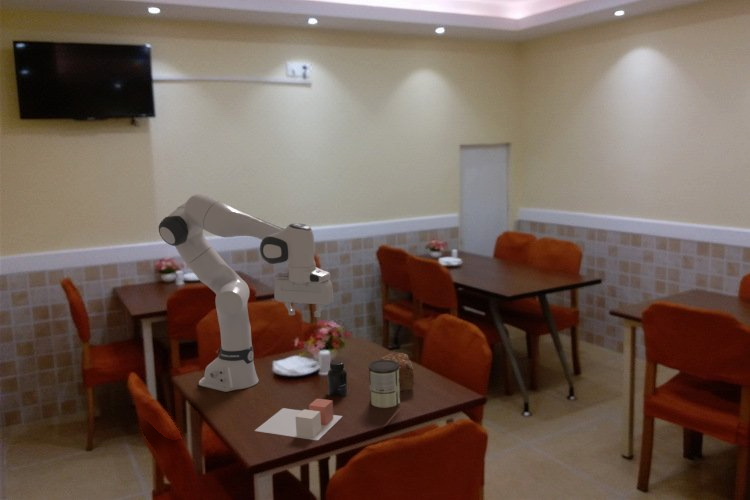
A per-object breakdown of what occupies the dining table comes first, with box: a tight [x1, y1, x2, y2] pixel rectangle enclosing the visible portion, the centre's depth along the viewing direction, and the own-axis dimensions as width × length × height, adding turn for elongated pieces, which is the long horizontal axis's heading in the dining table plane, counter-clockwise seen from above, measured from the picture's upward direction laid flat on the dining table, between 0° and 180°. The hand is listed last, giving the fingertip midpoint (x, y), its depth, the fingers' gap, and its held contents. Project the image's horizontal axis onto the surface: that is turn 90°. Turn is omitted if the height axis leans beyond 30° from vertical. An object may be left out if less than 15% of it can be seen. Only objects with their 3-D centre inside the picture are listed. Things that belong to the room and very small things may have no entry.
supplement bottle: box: [327, 360, 348, 398], centre depth 230 cm, size 7×7×12 cm
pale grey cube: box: [296, 408, 321, 438], centre depth 200 cm, size 6×6×6 cm
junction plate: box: [254, 407, 343, 441], centre depth 207 cm, size 22×18×1 cm
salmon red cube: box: [308, 398, 334, 425], centre depth 208 cm, size 6×6×6 cm
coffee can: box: [368, 359, 401, 409], centre depth 220 cm, size 10×10×14 cm
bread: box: [380, 352, 415, 392], centre depth 240 cm, size 19×11×10 cm, turn 4°
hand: (304, 315), depth 212 cm, fingers open, 8 cm apart
